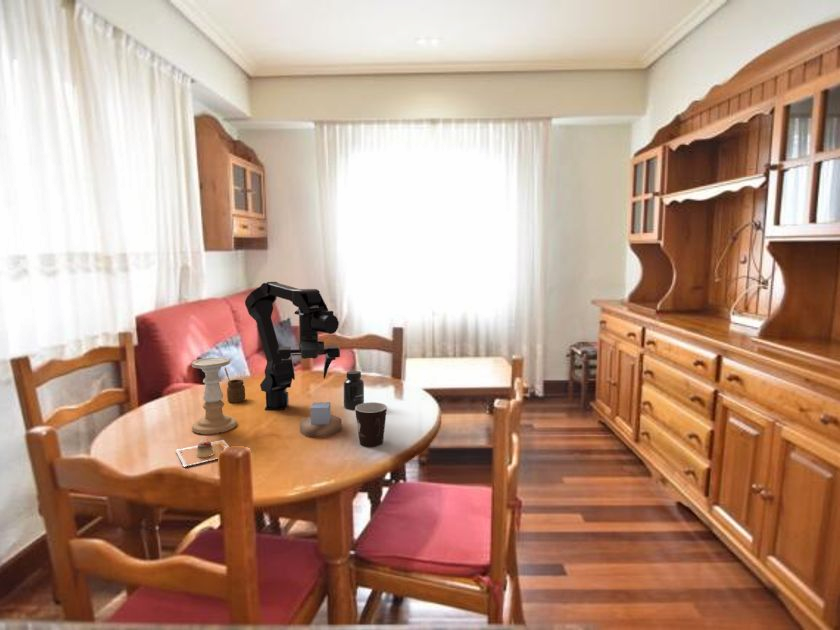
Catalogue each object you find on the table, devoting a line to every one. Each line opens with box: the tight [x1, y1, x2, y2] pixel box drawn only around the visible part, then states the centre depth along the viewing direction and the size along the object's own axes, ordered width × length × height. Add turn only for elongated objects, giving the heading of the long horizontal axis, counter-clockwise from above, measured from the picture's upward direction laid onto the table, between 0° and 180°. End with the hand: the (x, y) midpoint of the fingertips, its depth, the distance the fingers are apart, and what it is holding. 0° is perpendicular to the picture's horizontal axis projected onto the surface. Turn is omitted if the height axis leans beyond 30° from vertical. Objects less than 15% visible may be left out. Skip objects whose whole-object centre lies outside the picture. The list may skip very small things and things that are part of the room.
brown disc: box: [299, 414, 343, 438], centre depth 139 cm, size 12×12×2 cm
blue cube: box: [310, 401, 332, 425], centre depth 139 cm, size 5×5×5 cm
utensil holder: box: [224, 366, 246, 404], centre depth 166 cm, size 6×6×12 cm
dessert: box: [175, 437, 230, 468], centre depth 122 cm, size 12×12×5 cm
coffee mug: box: [354, 401, 388, 448], centre depth 128 cm, size 12×9×10 cm
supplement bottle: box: [343, 370, 365, 410], centre depth 160 cm, size 7×7×12 cm
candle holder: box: [191, 356, 238, 435], centre depth 140 cm, size 12×12×20 cm
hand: (309, 378), depth 149 cm, fingers open, 9 cm apart
